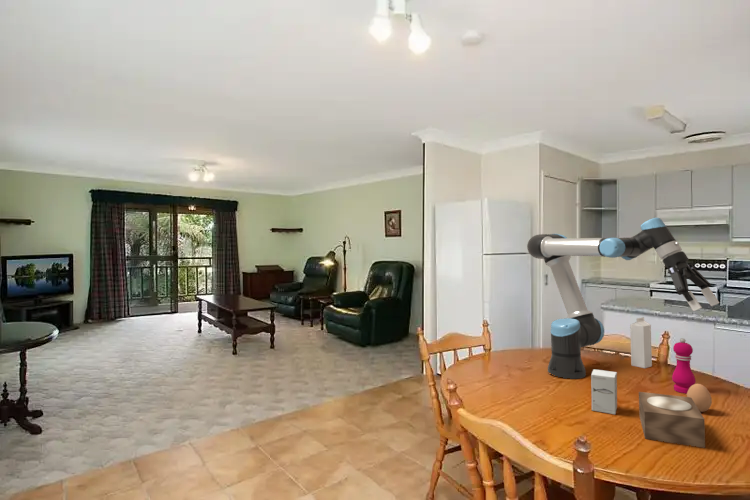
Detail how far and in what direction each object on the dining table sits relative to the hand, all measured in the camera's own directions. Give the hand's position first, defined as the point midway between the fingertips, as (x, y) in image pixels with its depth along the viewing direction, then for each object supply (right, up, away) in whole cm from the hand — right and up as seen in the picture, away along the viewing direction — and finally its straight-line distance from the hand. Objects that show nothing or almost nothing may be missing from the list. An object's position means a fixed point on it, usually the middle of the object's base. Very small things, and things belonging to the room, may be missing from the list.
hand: (706, 307), depth 152 cm
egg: (-10, -34, -10) cm, 36 cm away
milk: (+3, -33, +43) cm, 54 cm away
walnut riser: (-30, -34, -24) cm, 51 cm away
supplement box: (-40, -34, -6) cm, 53 cm away
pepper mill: (-1, -33, +9) cm, 34 cm away
